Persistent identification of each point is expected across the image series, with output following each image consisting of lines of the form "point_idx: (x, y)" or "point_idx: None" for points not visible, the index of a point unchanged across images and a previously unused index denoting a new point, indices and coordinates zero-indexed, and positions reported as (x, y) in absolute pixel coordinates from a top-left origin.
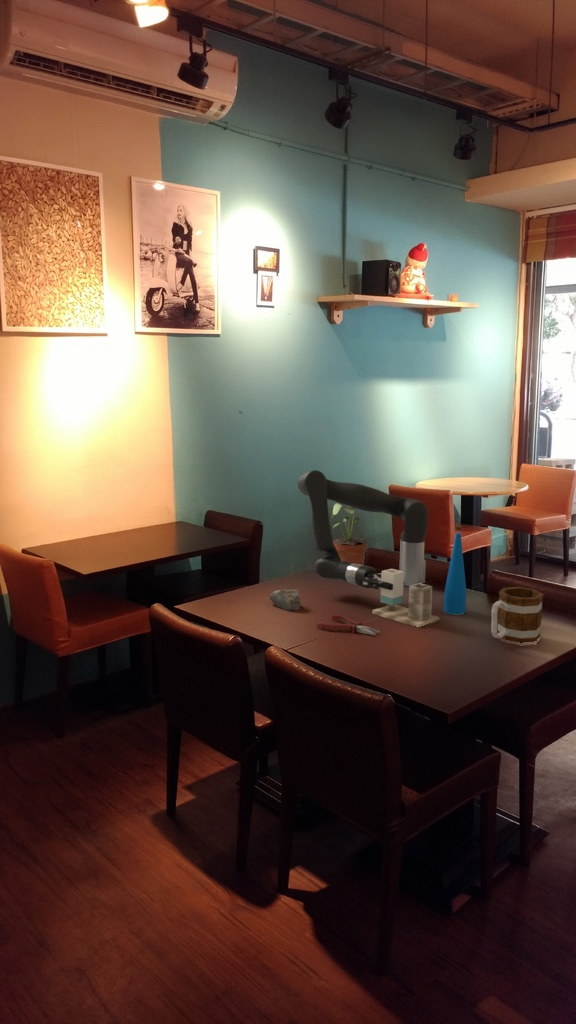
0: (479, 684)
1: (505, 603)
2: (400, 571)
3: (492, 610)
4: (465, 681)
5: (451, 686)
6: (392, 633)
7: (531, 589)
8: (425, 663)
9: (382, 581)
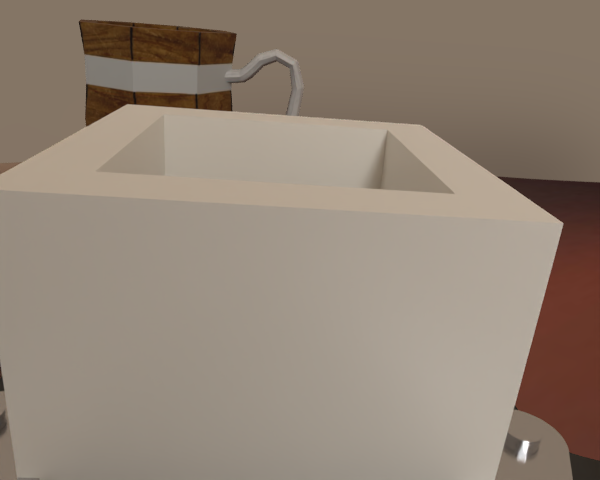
0: (511, 184)
1: (225, 65)
2: (160, 114)
3: (301, 83)
4: (533, 194)
5: (582, 199)
6: (578, 406)
7: (88, 20)
8: (582, 243)
9: (511, 419)
